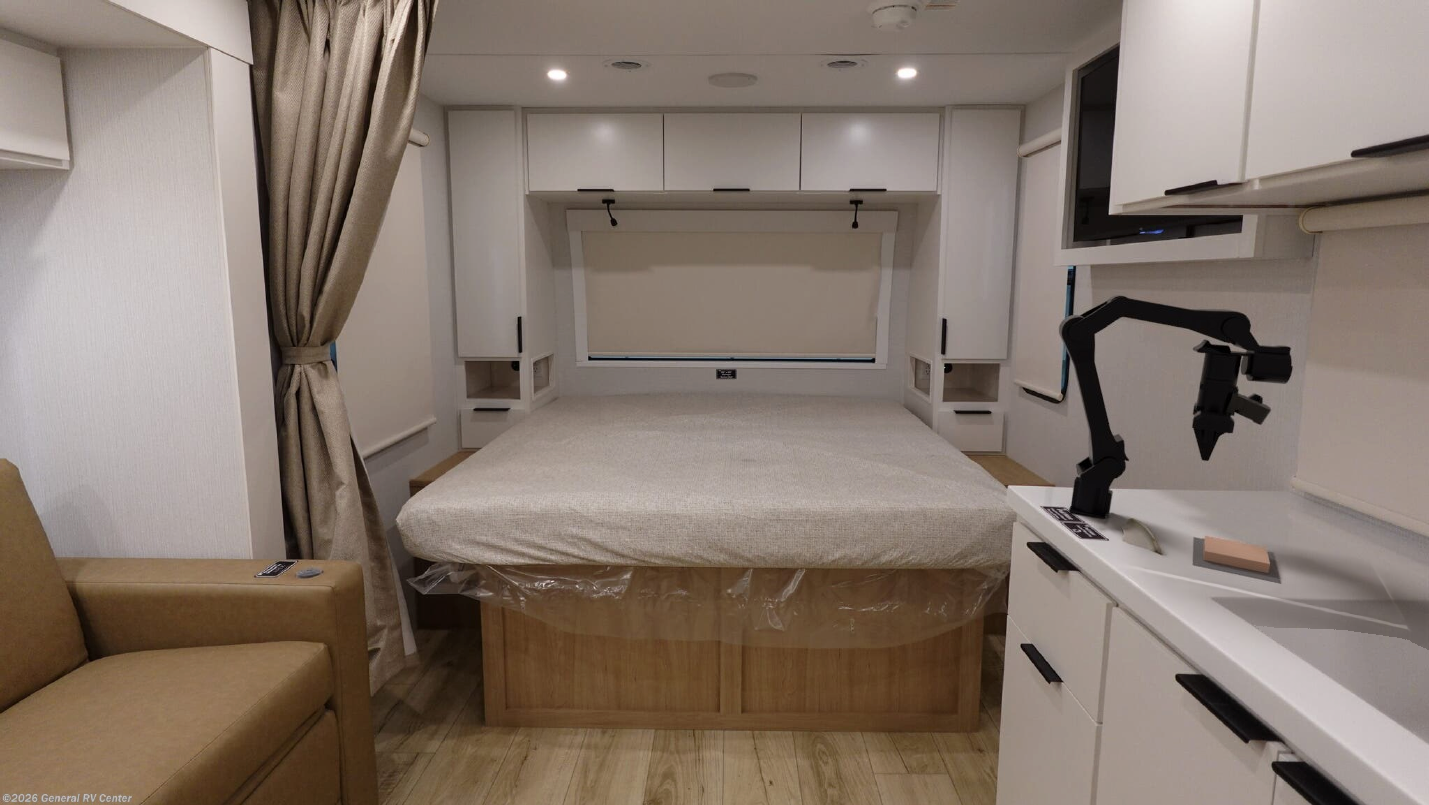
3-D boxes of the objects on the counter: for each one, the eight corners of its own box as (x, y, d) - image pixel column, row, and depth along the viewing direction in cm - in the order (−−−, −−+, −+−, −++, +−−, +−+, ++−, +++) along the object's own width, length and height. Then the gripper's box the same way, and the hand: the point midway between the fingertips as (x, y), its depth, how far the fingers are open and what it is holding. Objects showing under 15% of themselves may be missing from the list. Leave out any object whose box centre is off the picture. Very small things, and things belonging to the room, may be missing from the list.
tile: (1203, 544, 139) (1203, 560, 132) (1204, 535, 139) (1204, 550, 131) (1264, 556, 135) (1268, 573, 127) (1266, 547, 134) (1270, 564, 127)
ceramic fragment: (1164, 560, 133) (1168, 538, 133) (1132, 557, 134) (1136, 535, 133) (1130, 532, 147) (1133, 512, 146) (1101, 530, 148) (1104, 510, 147)
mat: (1192, 567, 129) (1192, 564, 129) (1193, 539, 143) (1193, 537, 143) (1280, 586, 123) (1281, 583, 123) (1273, 555, 137) (1273, 552, 137)
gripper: (1276, 391, 133) (1259, 479, 136) (1268, 378, 149) (1253, 457, 152) (1199, 382, 139) (1185, 468, 142) (1199, 371, 154) (1186, 448, 157)
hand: (1205, 460), depth 148 cm, fingers closed
